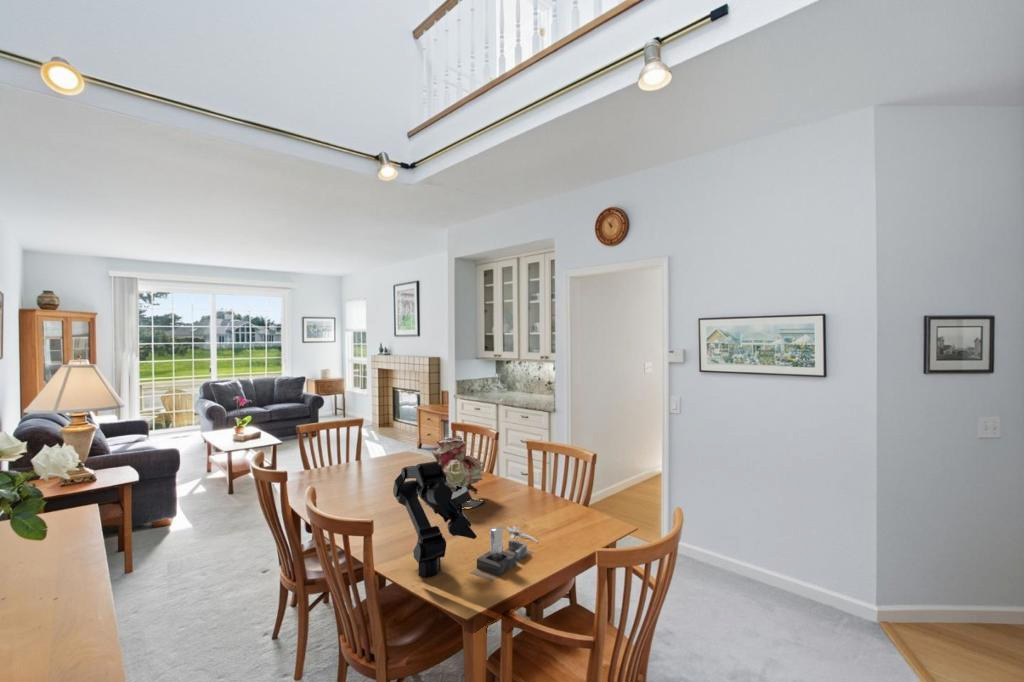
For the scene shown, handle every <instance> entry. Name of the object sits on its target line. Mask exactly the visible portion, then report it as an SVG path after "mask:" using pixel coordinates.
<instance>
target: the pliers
mask: <svg viewBox="0 0 1024 682" xmlns="http://www.w3.org/2000/svg"><path fill="white" fill-rule="evenodd" d="M505 530H507V531H506V532H507V533H509V534H510V537H509V538H510V539H511V540H514V539H515V540H517V539H518V536H519V538H520V537H521V539H524V540H525V539H526V538H528V540H531V539H532V540H531V541H533V542H534V541H535V542H534V543H536V544H538V540H537V539H536V538H535V537H533V536H531V535H528V534H524V533H523V532H521V531H520V530H519V529H518V528H517V527H516V525H513V526H512V528H510V527H509V526H506V527H505ZM515 534H516V535H518V536H516V535H515ZM522 536H523V537H522ZM513 538H514V539H513Z"/></svg>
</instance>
